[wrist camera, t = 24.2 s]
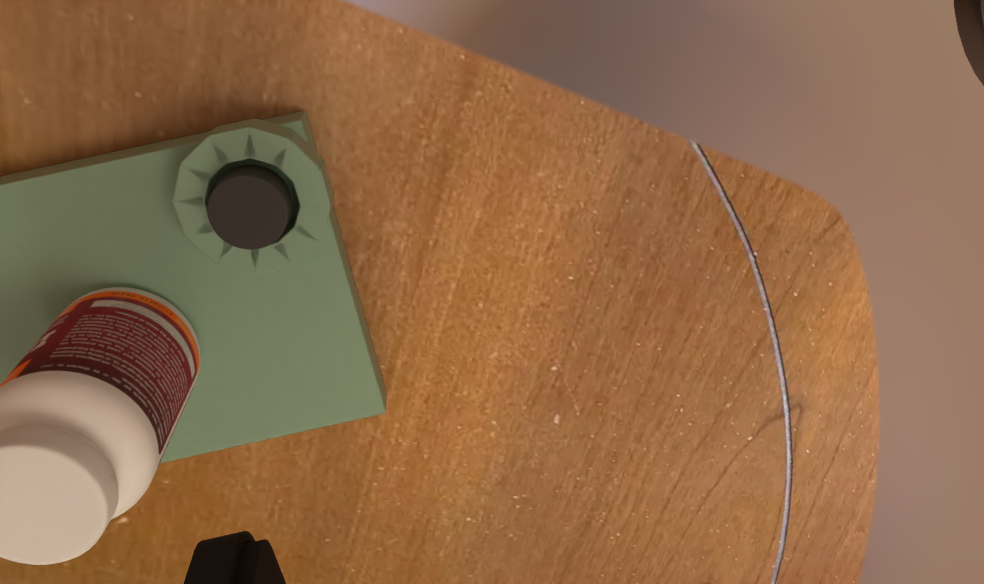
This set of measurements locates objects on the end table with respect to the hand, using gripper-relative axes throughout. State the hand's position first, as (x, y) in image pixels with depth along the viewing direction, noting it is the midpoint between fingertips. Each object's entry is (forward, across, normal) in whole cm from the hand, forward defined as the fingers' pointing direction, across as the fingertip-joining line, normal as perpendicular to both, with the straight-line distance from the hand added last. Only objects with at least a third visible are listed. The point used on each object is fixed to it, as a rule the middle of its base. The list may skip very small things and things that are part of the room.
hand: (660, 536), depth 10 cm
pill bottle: (+27, +17, +7) cm, 32 cm away
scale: (+28, +15, +6) cm, 33 cm away
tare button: (+25, +9, +1) cm, 27 cm away
